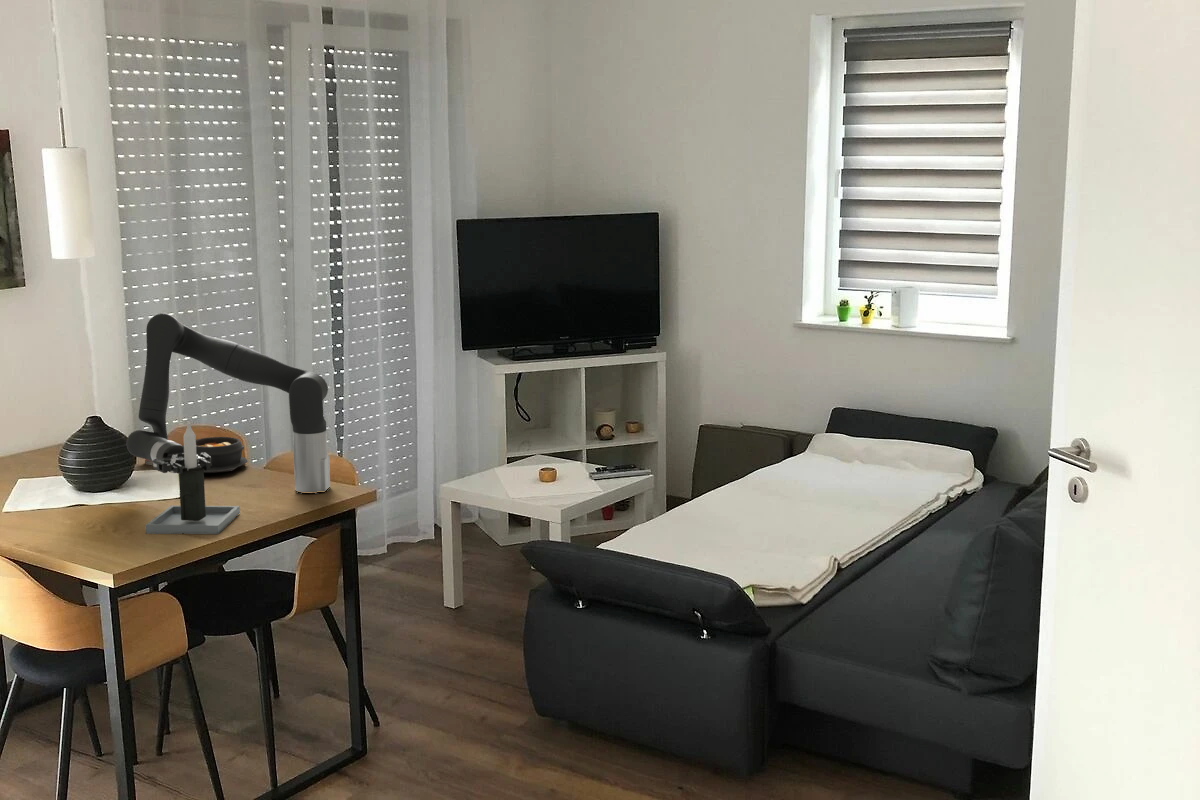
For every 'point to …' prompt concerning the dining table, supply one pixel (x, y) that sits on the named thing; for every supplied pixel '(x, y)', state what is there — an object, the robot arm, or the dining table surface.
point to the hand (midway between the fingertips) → (194, 468)
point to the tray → (210, 524)
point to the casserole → (221, 453)
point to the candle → (191, 481)
